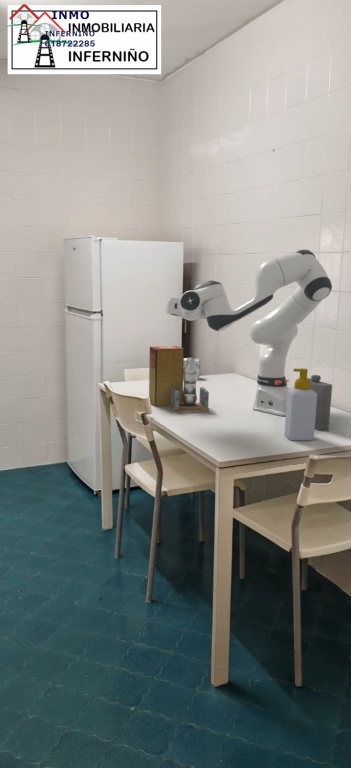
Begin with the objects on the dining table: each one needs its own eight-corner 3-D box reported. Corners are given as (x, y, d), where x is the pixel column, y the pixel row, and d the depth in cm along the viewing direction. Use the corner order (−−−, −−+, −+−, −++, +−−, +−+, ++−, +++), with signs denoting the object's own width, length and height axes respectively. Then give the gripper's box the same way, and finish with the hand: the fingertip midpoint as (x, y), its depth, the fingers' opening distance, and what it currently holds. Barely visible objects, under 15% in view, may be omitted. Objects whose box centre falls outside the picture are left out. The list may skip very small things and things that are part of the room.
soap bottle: (283, 433, 210) (288, 366, 205) (307, 434, 211) (312, 367, 206) (289, 441, 201) (294, 371, 196) (314, 441, 202) (320, 371, 197)
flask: (294, 421, 228) (298, 372, 224) (306, 420, 230) (310, 371, 226) (319, 431, 215) (323, 379, 211) (331, 430, 217) (335, 378, 213)
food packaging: (175, 399, 259) (177, 345, 254) (183, 404, 251) (185, 348, 246) (147, 401, 254) (148, 346, 249) (155, 406, 246) (156, 349, 241)
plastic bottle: (180, 405, 242) (182, 358, 239) (183, 402, 249) (185, 356, 245) (194, 406, 241) (197, 359, 238) (197, 403, 247) (200, 357, 244)
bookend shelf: (208, 411, 240) (209, 392, 238) (174, 412, 237) (175, 392, 235) (203, 406, 249) (203, 387, 248) (170, 406, 247) (170, 387, 245)
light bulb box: (199, 377, 314) (200, 358, 311) (198, 380, 307) (199, 360, 305) (180, 376, 315) (180, 357, 312) (178, 379, 308) (179, 359, 306)
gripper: (218, 304, 220) (217, 310, 233) (166, 296, 221) (168, 303, 234) (216, 320, 219) (215, 326, 233) (163, 312, 220) (166, 318, 234)
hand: (191, 314), depth 234 cm, fingers open, 8 cm apart
